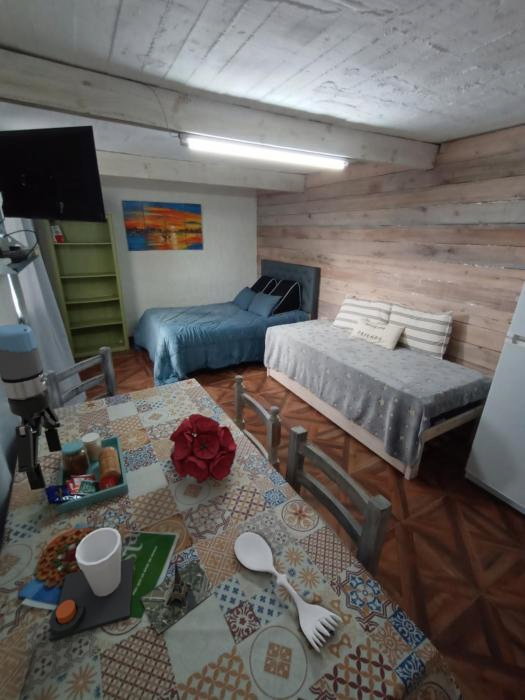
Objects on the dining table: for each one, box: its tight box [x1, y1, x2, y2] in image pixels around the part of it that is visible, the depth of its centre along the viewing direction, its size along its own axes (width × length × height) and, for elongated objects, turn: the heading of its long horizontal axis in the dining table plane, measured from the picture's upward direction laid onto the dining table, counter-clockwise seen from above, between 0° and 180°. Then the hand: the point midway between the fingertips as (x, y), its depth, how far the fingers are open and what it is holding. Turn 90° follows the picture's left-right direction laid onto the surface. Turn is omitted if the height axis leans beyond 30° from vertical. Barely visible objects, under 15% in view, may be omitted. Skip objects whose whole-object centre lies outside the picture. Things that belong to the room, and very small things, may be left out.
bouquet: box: [168, 413, 238, 485], centre depth 113 cm, size 22×24×30 cm
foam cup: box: [75, 527, 123, 596], centre depth 76 cm, size 10×9×13 cm
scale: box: [48, 557, 135, 642], centre depth 75 cm, size 16×14×3 cm
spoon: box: [233, 531, 344, 653], centre depth 79 cm, size 9×32×4 cm, turn 41°
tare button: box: [56, 600, 76, 624], centre depth 70 cm, size 4×4×2 cm
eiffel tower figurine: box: [140, 558, 217, 635], centre depth 75 cm, size 15×10×13 cm
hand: (47, 468), depth 79 cm, fingers open, 13 cm apart
